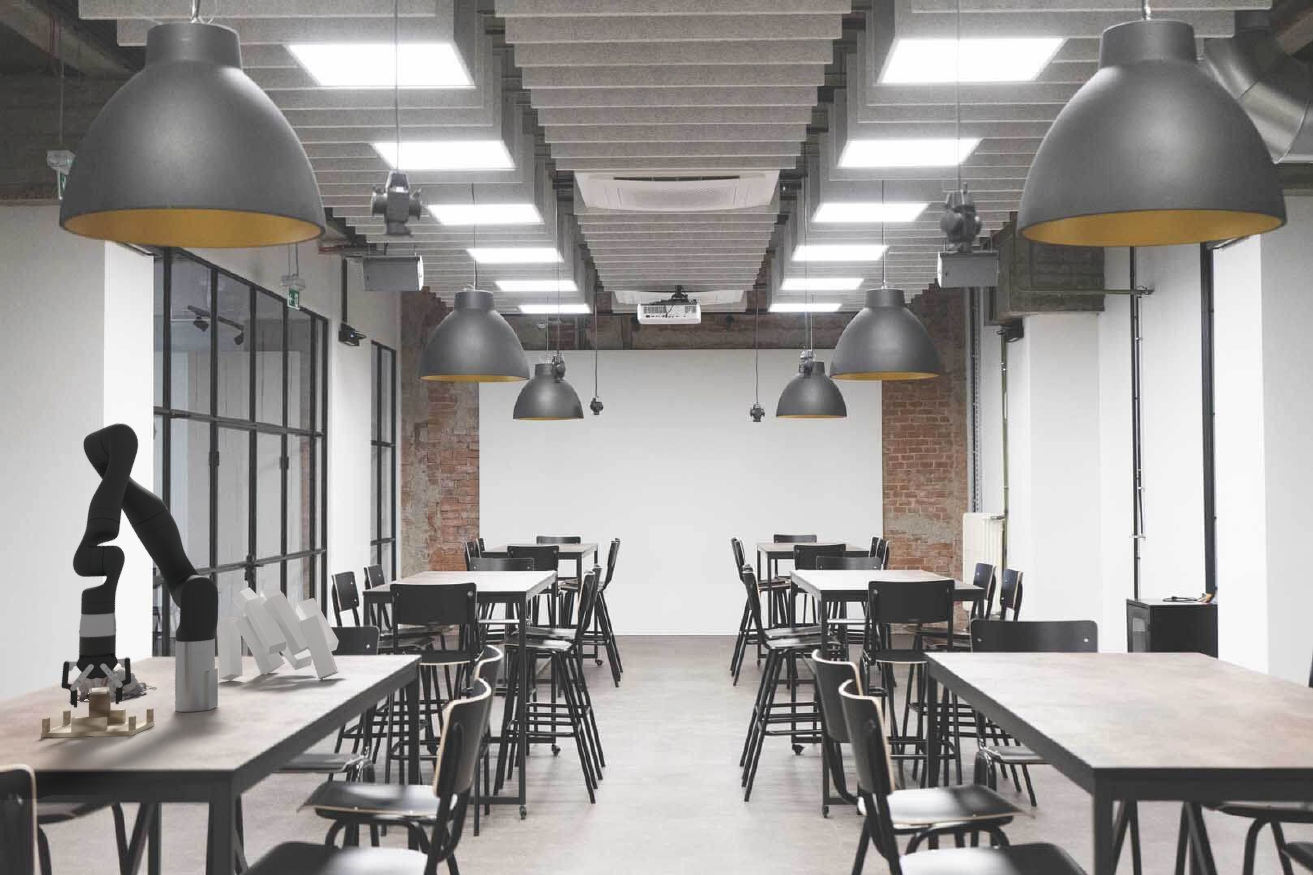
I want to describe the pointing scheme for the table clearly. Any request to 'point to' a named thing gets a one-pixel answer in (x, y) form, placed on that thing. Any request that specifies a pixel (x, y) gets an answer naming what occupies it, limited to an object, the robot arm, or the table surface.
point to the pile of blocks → (275, 635)
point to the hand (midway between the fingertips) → (96, 705)
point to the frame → (99, 702)
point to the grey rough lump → (113, 687)
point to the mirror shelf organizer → (98, 725)
